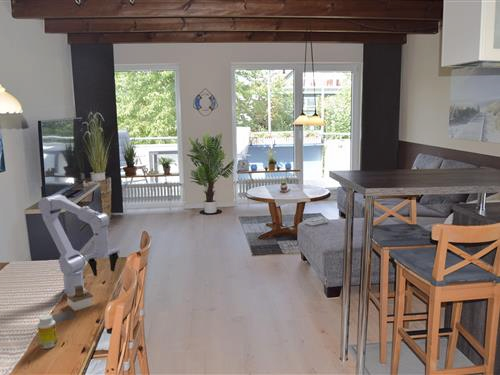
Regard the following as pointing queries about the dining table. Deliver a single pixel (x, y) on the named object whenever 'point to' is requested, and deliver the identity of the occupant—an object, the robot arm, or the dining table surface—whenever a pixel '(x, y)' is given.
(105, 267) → the dining table surface
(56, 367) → the dining table surface
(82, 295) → the lid
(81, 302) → the dish
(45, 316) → the supplement bottle
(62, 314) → the mat
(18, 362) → the dining table surface
